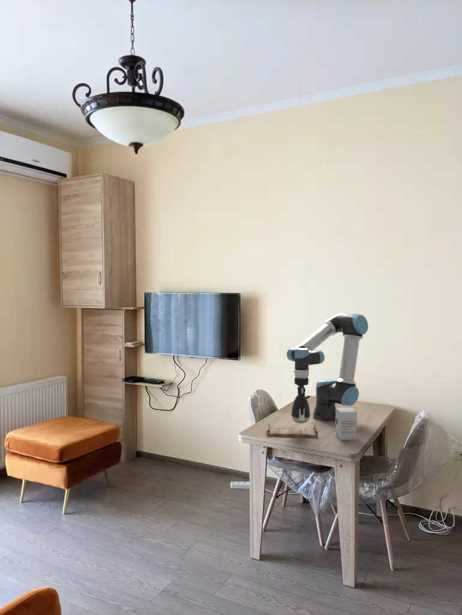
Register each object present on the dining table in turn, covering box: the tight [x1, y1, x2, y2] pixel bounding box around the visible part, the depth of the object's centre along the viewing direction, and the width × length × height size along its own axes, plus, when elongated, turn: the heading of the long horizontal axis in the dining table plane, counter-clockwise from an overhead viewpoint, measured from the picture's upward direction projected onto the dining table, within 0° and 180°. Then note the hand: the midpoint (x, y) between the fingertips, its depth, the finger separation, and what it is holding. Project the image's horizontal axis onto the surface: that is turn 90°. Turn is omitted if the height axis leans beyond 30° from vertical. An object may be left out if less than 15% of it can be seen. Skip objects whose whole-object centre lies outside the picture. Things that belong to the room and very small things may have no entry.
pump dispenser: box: [290, 394, 311, 424], centre depth 260 cm, size 10×10×15 cm
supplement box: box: [335, 407, 358, 441], centre depth 254 cm, size 9×9×15 cm
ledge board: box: [267, 422, 319, 439], centre depth 260 cm, size 26×12×4 cm, turn 86°
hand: (300, 417), depth 260 cm, fingers closed on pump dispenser, 10 cm apart
